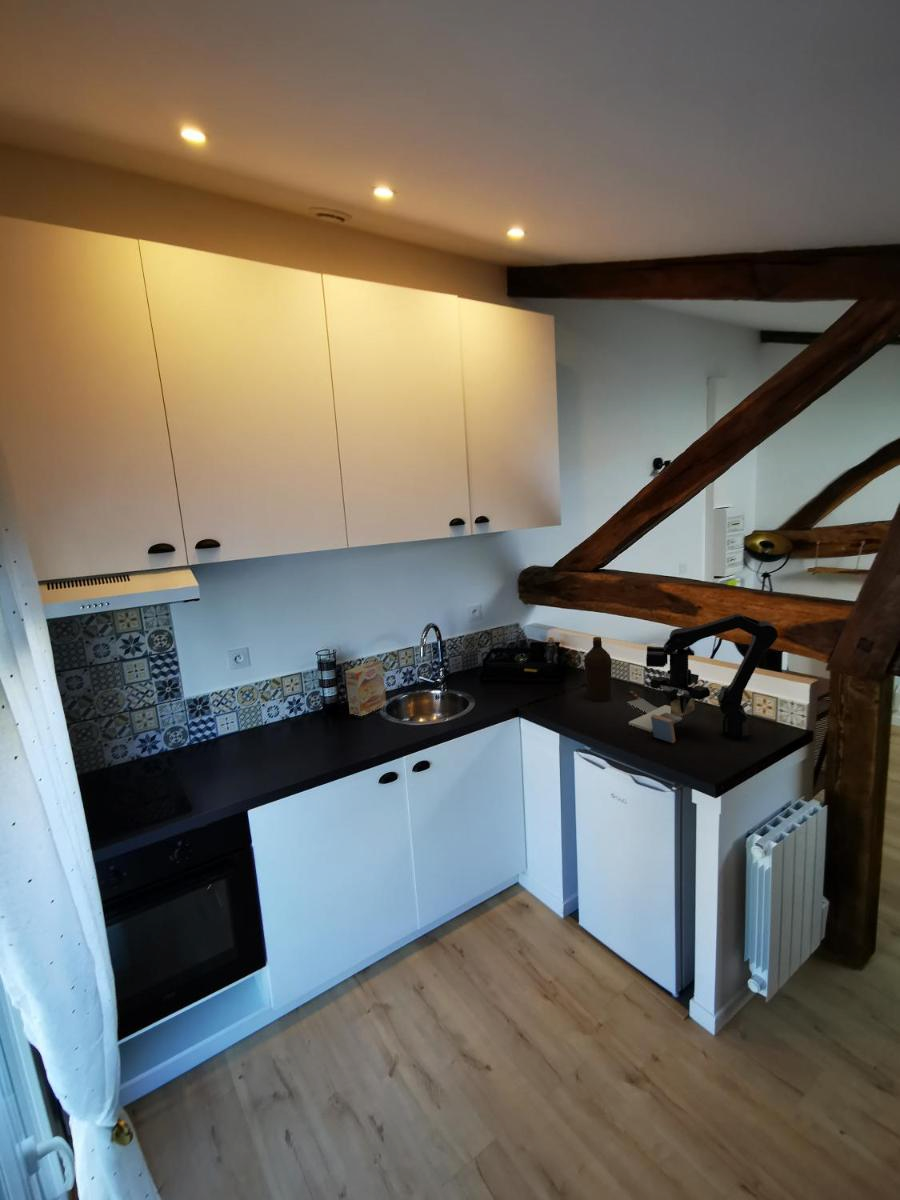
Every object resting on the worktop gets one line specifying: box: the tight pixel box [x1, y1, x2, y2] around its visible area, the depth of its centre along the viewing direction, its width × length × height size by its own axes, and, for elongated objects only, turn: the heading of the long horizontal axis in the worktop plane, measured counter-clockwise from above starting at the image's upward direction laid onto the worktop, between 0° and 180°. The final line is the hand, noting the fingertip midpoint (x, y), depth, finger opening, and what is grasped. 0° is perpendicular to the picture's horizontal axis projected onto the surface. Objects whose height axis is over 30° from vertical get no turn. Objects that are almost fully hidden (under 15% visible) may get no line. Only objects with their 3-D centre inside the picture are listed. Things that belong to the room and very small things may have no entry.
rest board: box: [628, 704, 671, 733], centre depth 201 cm, size 9×22×1 cm, turn 126°
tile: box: [651, 714, 676, 744], centre depth 183 cm, size 7×2×8 cm, turn 36°
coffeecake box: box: [344, 661, 387, 716], centre depth 229 cm, size 15×7×20 cm, turn 143°
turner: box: [660, 697, 695, 725], centre depth 187 cm, size 16×6×5 cm, turn 126°
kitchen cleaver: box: [626, 690, 659, 713], centre depth 217 cm, size 24×1×10 cm
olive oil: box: [583, 636, 613, 703], centre depth 223 cm, size 11×11×25 cm
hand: (679, 711), depth 188 cm, fingers closed on turner, 2 cm apart
